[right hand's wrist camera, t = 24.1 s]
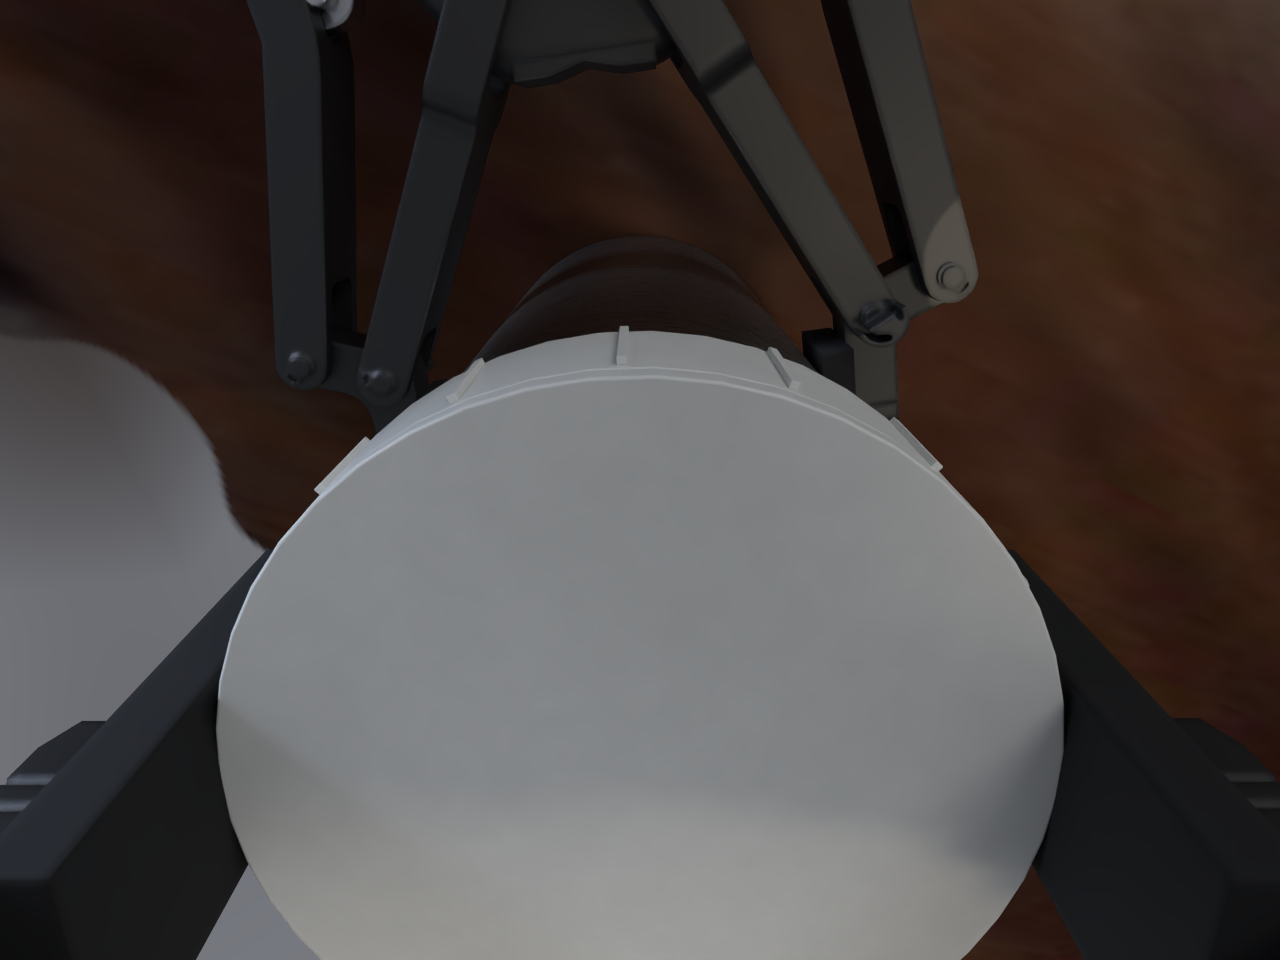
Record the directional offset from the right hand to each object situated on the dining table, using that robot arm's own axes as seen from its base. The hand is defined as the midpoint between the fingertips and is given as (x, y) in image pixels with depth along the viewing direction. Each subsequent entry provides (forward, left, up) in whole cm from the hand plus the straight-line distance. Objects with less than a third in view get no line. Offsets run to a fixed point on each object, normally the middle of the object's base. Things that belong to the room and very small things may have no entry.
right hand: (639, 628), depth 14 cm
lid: (0, 0, +3) cm, 3 cm away
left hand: (-4, +2, -10) cm, 11 cm away
